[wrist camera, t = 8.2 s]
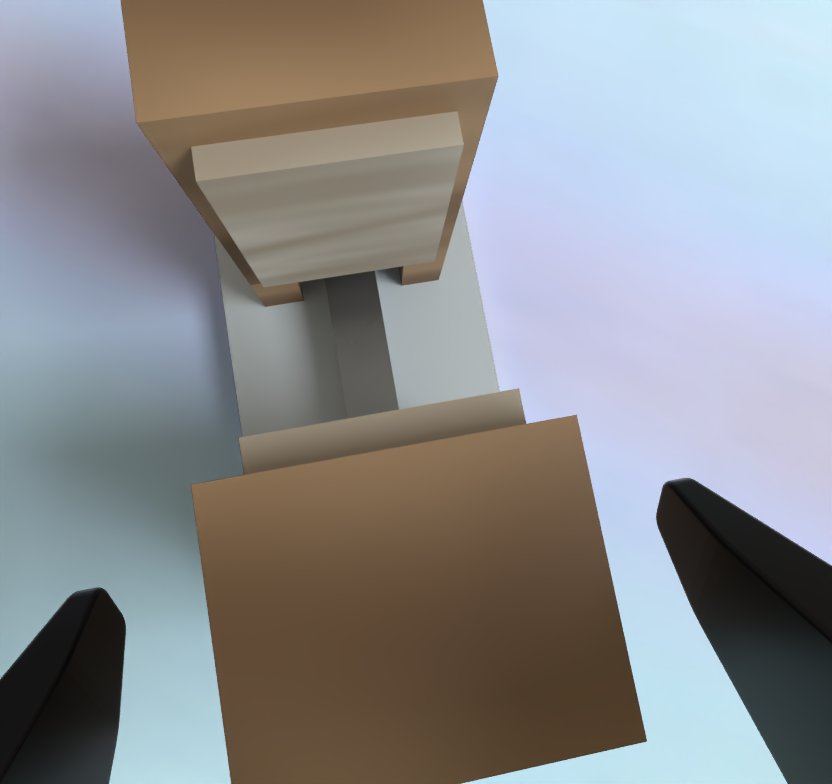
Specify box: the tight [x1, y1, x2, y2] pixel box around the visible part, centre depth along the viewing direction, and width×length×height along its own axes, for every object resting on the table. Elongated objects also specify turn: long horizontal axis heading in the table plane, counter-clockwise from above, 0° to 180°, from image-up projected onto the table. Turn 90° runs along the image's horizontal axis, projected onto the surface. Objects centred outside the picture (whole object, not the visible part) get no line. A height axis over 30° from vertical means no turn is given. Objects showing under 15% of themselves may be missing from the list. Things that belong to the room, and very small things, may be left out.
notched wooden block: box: [191, 389, 647, 784], centre depth 13 cm, size 5×6×10 cm
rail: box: [325, 271, 399, 419], centre depth 18 cm, size 19×2×1 cm, turn 10°
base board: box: [214, 202, 500, 437], centre depth 19 cm, size 20×8×1 cm, turn 10°
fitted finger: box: [121, 0, 498, 307], centre depth 14 cm, size 5×6×10 cm
